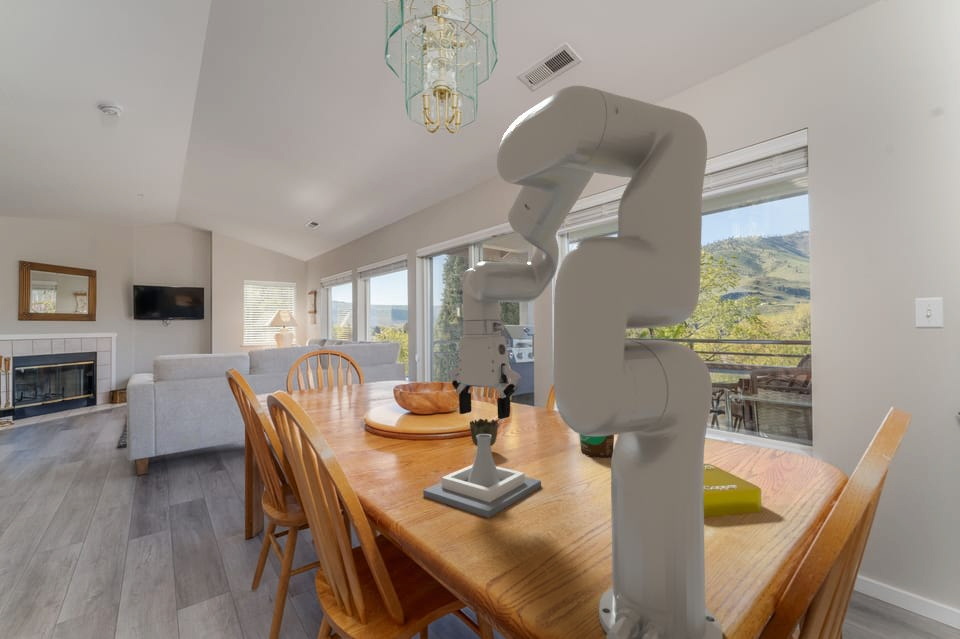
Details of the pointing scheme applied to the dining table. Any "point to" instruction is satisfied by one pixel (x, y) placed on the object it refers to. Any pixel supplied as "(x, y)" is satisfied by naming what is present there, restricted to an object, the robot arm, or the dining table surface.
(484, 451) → the flask
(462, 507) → the collar board
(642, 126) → the robot arm
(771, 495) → the dining table surface
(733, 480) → the element tile
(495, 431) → the cup
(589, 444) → the food container
